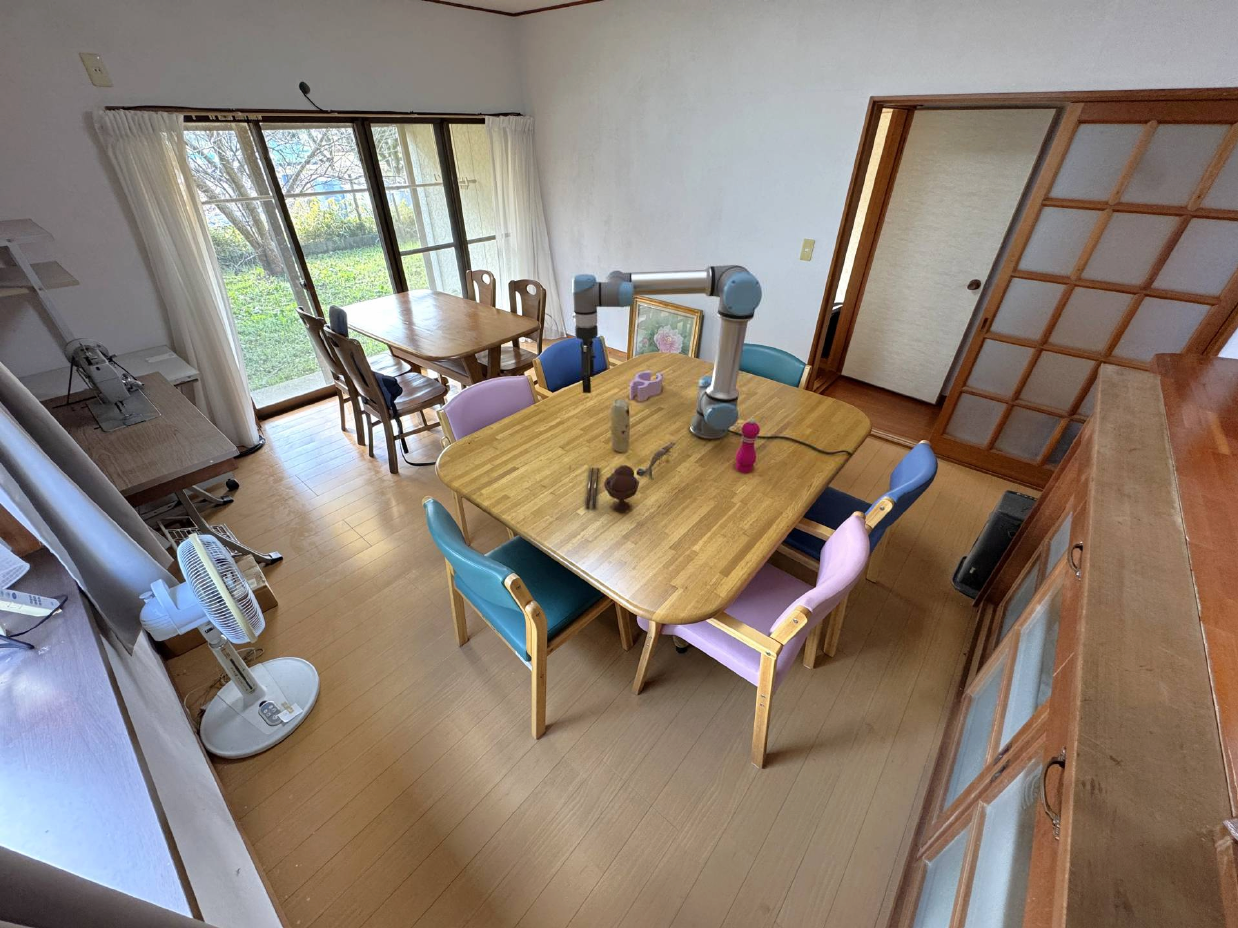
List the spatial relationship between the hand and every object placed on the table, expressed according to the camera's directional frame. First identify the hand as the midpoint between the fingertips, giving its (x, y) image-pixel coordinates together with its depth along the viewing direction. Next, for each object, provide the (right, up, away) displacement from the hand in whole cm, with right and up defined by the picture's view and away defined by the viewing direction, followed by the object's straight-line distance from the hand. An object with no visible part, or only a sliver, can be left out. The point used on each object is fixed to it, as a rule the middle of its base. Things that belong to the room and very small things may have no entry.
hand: (588, 384), depth 171 cm
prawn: (+25, -30, +4) cm, 39 cm away
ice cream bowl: (+12, -42, -15) cm, 46 cm away
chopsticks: (+2, -37, -7) cm, 37 cm away
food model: (+11, -22, +15) cm, 29 cm away
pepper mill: (+56, -30, +3) cm, 64 cm away
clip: (+23, +5, +56) cm, 61 cm away
